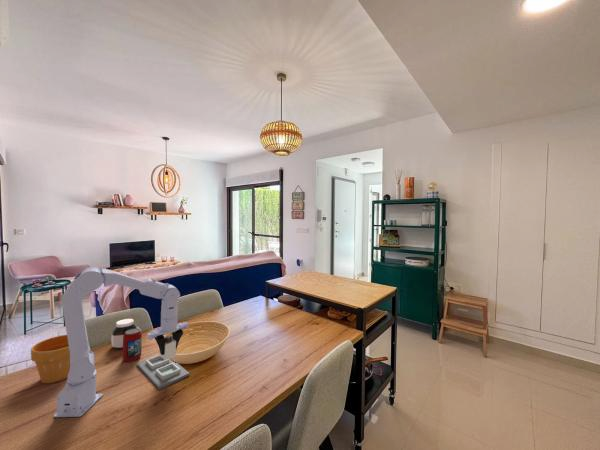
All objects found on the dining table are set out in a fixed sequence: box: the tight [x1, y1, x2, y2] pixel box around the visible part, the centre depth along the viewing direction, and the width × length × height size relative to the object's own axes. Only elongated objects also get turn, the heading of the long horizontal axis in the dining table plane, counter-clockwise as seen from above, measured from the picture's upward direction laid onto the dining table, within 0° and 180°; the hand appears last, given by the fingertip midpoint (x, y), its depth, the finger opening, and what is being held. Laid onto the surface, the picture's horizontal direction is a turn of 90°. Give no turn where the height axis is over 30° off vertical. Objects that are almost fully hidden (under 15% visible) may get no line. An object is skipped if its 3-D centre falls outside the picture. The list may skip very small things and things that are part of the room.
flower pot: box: [30, 334, 70, 384], centre depth 94 cm, size 14×14×13 cm
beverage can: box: [122, 327, 143, 362], centre depth 107 cm, size 7×7×12 cm
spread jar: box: [110, 318, 142, 350], centre depth 119 cm, size 12×11×12 cm
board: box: [136, 353, 190, 390], centre depth 99 cm, size 22×11×2 cm, turn 51°
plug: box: [159, 335, 177, 360], centre depth 96 cm, size 4×4×8 cm
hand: (168, 351), depth 96 cm, fingers closed on plug, 4 cm apart
